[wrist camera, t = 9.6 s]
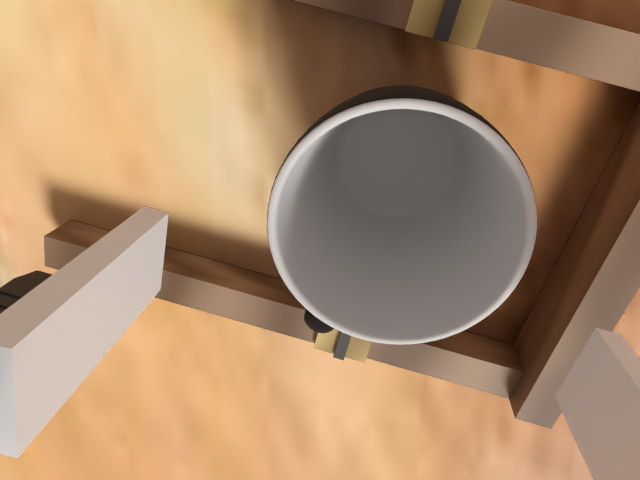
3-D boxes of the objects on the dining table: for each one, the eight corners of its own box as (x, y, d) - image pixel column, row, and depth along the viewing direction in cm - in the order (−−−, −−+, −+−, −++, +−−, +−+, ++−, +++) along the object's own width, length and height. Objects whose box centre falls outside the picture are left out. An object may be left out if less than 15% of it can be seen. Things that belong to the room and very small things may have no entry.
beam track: (71, 248, 30) (27, 278, 27) (73, -109, 22) (9, -135, 18) (531, 379, 29) (551, 429, 26) (712, 57, 21) (778, 64, 17)
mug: (365, 33, 23) (345, 37, 14) (522, 127, 23) (604, 192, 14) (261, 230, 28) (195, 330, 19) (392, 302, 28) (391, 433, 19)
